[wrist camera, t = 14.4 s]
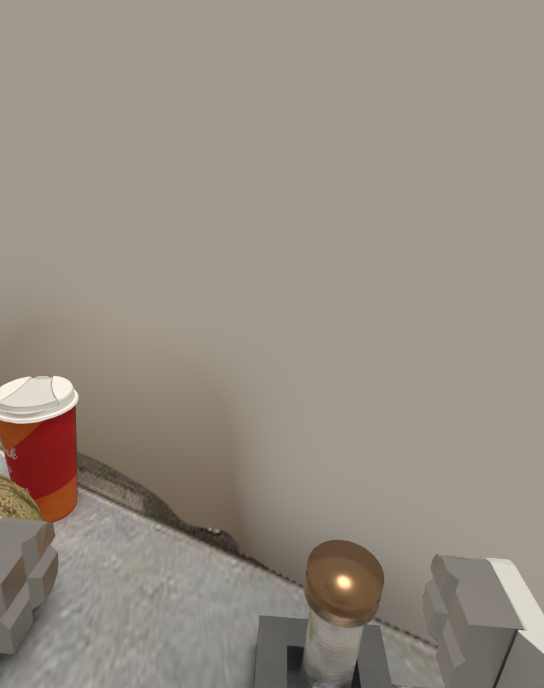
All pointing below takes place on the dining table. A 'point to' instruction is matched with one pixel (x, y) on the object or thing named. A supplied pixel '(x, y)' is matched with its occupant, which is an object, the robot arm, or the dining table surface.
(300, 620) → the block
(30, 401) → the coffee cup
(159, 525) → the dining table surface
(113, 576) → the dining table surface
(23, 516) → the cantaloupe
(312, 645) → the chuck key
